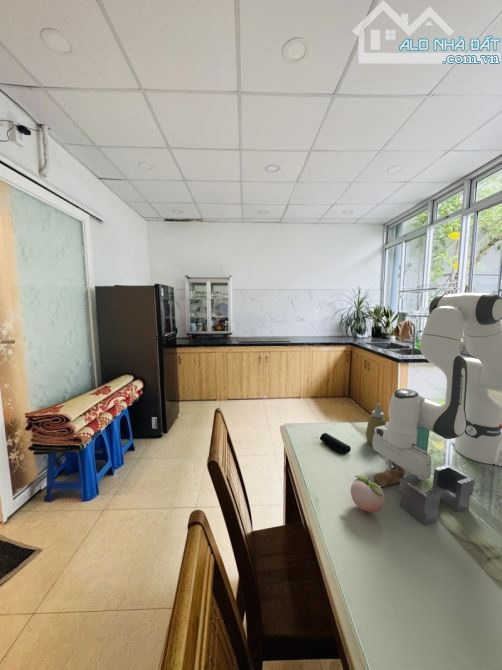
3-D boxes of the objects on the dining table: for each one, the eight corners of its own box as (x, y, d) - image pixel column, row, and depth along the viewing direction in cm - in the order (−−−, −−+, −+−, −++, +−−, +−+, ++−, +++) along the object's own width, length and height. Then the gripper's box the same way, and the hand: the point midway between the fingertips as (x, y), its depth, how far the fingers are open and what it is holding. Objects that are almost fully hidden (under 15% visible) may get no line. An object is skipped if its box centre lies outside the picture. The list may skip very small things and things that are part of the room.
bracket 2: (457, 512, 80) (461, 484, 79) (431, 494, 87) (434, 468, 86) (470, 507, 82) (474, 479, 81) (443, 490, 89) (447, 464, 88)
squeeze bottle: (386, 443, 119) (390, 403, 117) (384, 451, 112) (388, 409, 110) (366, 437, 123) (370, 399, 121) (363, 445, 116) (366, 404, 114)
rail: (416, 478, 96) (407, 467, 99) (422, 472, 94) (413, 461, 97) (379, 489, 90) (371, 477, 93) (385, 483, 88) (377, 471, 91)
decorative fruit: (342, 506, 81) (345, 475, 80) (358, 495, 86) (360, 465, 85) (373, 528, 73) (376, 494, 72) (387, 514, 78) (391, 482, 77)
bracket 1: (411, 501, 84) (414, 474, 83) (437, 520, 77) (440, 491, 75) (397, 506, 82) (400, 478, 81) (422, 526, 74) (425, 496, 73)
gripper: (438, 451, 84) (433, 493, 85) (383, 423, 102) (380, 457, 104) (424, 455, 81) (419, 498, 83) (370, 425, 100) (367, 461, 102)
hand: (397, 475), depth 94 cm, fingers closed on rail, 4 cm apart
